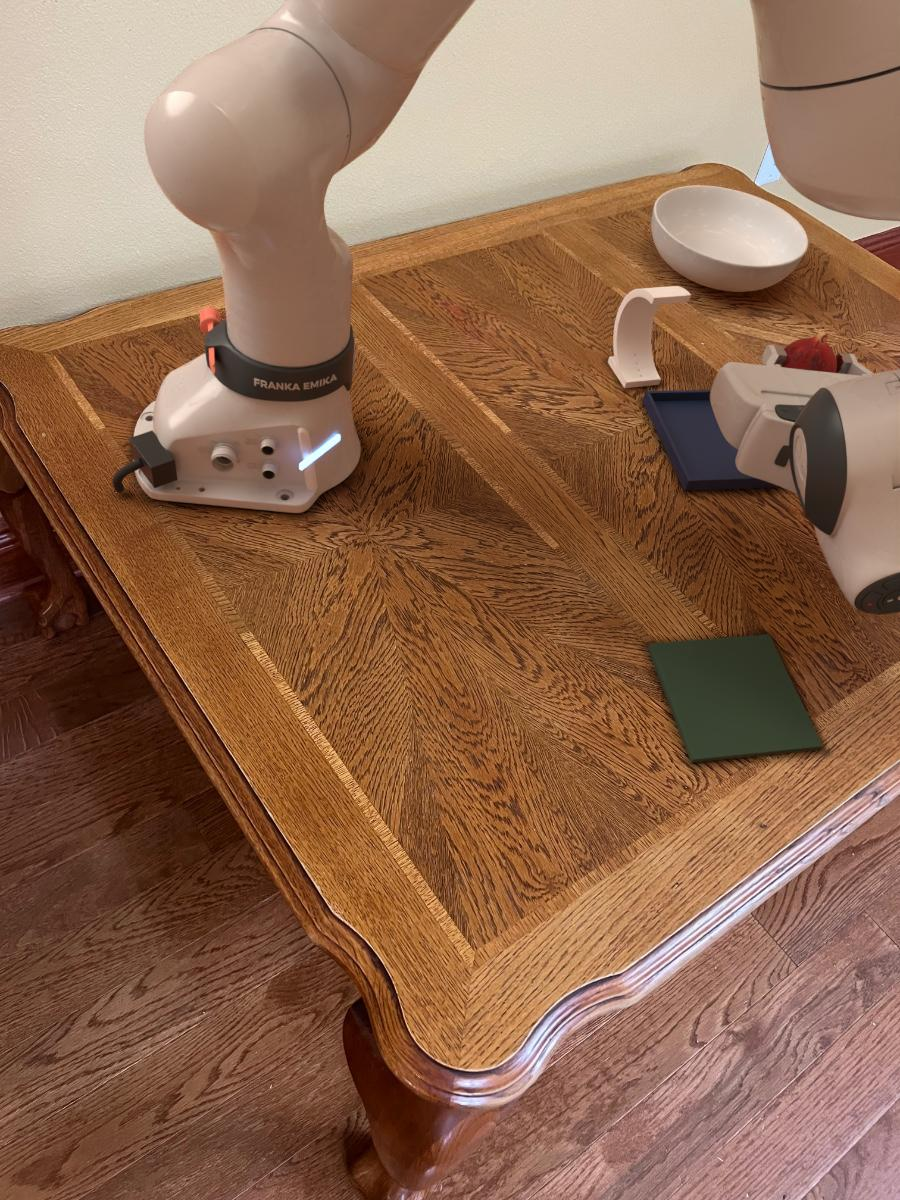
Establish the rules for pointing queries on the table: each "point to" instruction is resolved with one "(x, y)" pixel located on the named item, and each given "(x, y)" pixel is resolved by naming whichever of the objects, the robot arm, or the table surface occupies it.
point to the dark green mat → (732, 698)
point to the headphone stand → (639, 334)
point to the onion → (811, 354)
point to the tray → (696, 441)
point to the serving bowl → (726, 237)
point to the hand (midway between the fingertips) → (806, 355)
